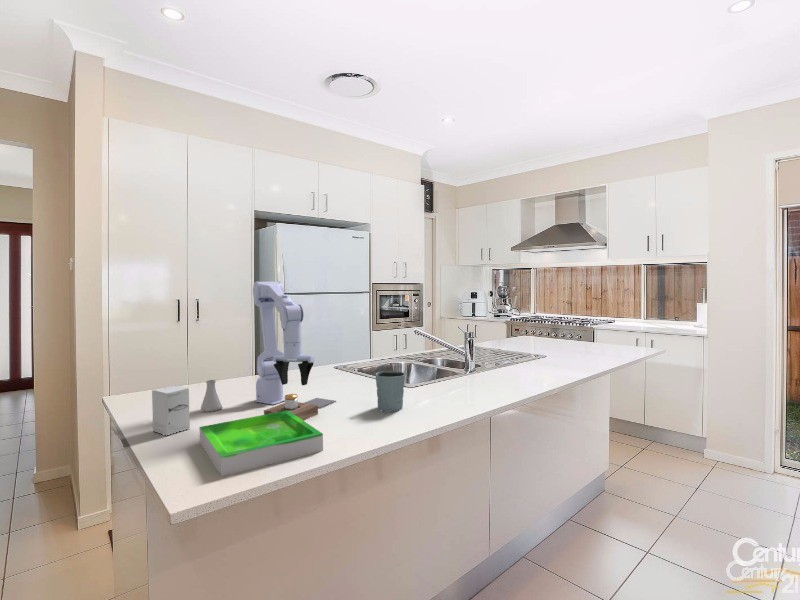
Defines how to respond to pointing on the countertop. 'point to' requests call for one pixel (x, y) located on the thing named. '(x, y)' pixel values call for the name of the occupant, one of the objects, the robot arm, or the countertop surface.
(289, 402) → the glass jar
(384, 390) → the grey cup
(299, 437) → the tray
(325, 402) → the mat
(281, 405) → the housing
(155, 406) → the supplement box
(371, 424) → the countertop surface
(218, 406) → the flask
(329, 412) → the countertop surface
